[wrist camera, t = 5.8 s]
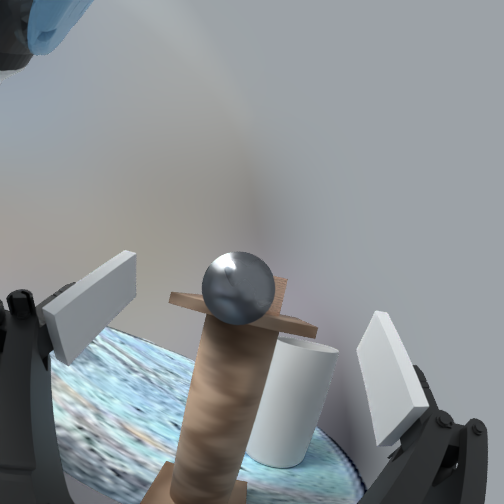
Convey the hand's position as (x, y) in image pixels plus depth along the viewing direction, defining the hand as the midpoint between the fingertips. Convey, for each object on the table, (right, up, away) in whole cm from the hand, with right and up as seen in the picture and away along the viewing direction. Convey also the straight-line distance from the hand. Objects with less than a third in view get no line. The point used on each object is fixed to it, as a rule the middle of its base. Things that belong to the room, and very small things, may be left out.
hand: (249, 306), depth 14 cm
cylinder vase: (+5, -39, +30) cm, 49 cm away
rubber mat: (-26, -24, -8) cm, 37 cm away
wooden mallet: (-1, -2, +9) cm, 9 cm away
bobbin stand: (-7, -32, +10) cm, 35 cm away
